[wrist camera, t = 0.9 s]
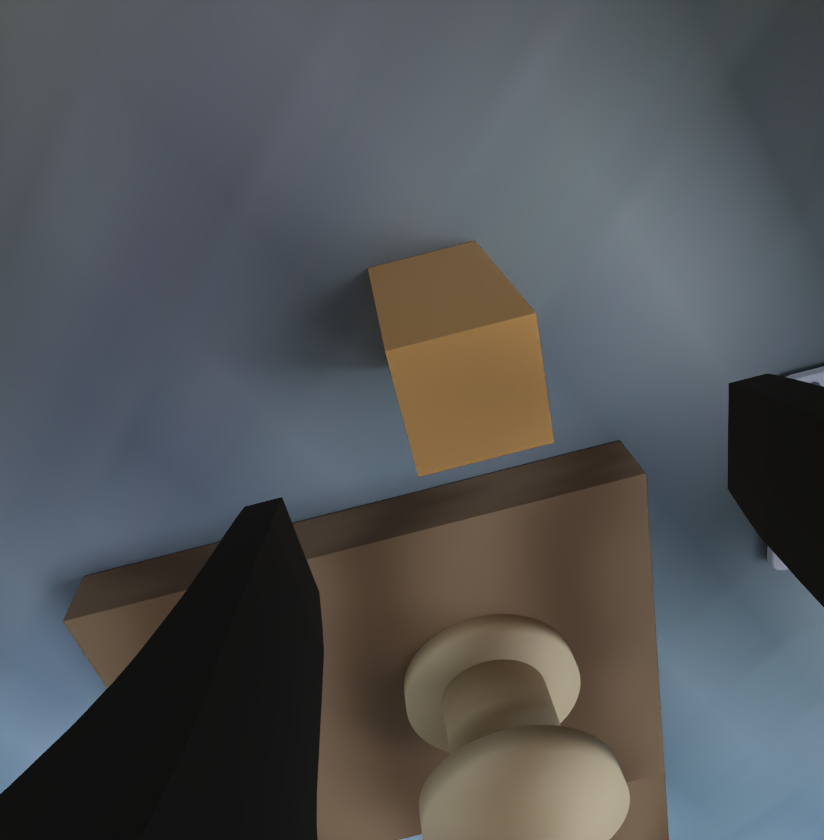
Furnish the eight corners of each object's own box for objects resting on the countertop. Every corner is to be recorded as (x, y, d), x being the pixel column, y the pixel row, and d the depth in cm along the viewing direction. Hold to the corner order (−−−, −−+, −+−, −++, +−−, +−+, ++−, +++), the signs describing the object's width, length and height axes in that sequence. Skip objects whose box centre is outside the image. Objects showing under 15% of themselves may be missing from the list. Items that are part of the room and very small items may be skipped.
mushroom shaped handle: (562, 595, 22) (622, 728, 17) (580, 712, 25) (636, 851, 20) (385, 640, 22) (400, 784, 17) (423, 751, 25) (445, 899, 20)
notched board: (619, 440, 22) (645, 473, 20) (649, 796, 31) (668, 840, 29) (83, 576, 22) (62, 621, 20) (277, 889, 31) (274, 938, 30)
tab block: (474, 240, 18) (536, 312, 13) (492, 340, 20) (553, 442, 14) (367, 267, 18) (385, 351, 13) (393, 366, 20) (418, 477, 14)
